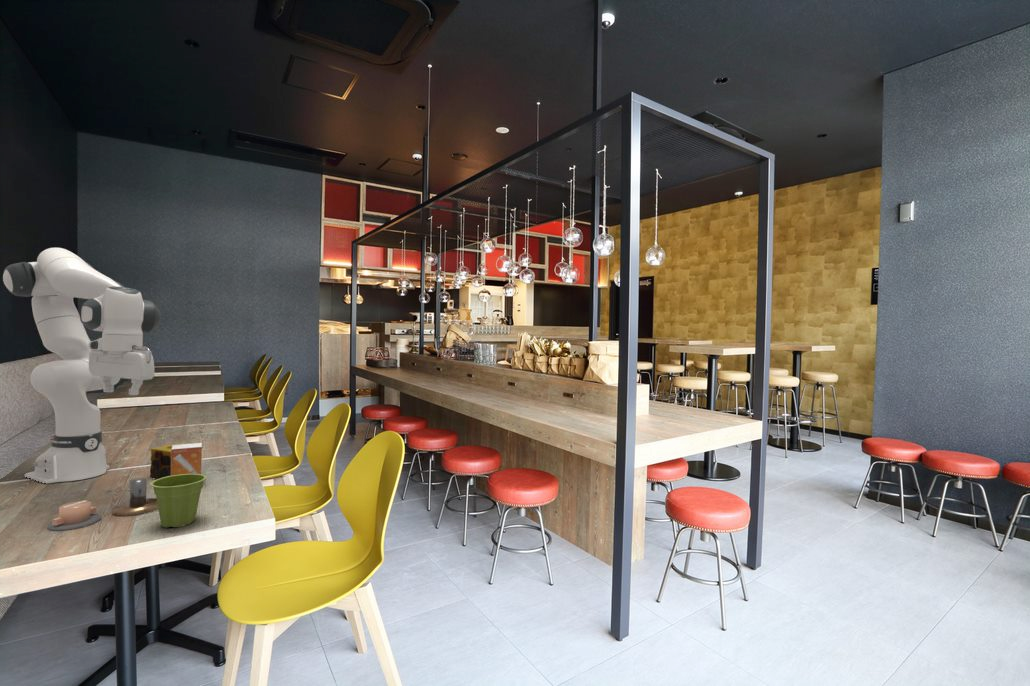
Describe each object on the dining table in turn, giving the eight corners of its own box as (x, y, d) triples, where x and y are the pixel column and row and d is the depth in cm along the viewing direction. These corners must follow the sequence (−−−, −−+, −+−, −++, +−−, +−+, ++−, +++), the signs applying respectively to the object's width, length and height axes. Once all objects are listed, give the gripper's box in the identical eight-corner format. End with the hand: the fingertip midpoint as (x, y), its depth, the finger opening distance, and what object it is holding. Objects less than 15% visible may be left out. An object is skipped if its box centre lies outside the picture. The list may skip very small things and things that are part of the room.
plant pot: (216, 516, 128) (217, 475, 127) (176, 534, 116) (176, 489, 116) (180, 512, 130) (181, 471, 130) (137, 529, 119) (138, 484, 119)
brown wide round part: (101, 513, 128) (101, 483, 128) (142, 499, 138) (142, 472, 138) (132, 518, 125) (133, 488, 125) (172, 504, 136) (172, 476, 136)
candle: (170, 482, 155) (170, 451, 155) (148, 478, 158) (148, 448, 158) (199, 473, 165) (200, 445, 164) (178, 470, 168) (179, 442, 168)
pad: (37, 527, 118) (37, 525, 118) (82, 513, 127) (82, 511, 127) (66, 533, 115) (66, 530, 115) (110, 517, 125) (110, 515, 125)
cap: (85, 512, 127) (86, 496, 126) (103, 515, 125) (103, 499, 125) (45, 525, 118) (45, 508, 118) (63, 528, 116) (63, 511, 116)
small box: (170, 491, 147) (170, 449, 146) (171, 485, 152) (171, 444, 152) (201, 487, 151) (202, 446, 151) (201, 481, 156) (202, 442, 156)
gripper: (162, 346, 134) (160, 395, 134) (108, 342, 139) (106, 389, 139) (139, 347, 127) (137, 398, 128) (83, 342, 133) (82, 391, 133)
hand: (121, 393), depth 134 cm, fingers open, 8 cm apart
